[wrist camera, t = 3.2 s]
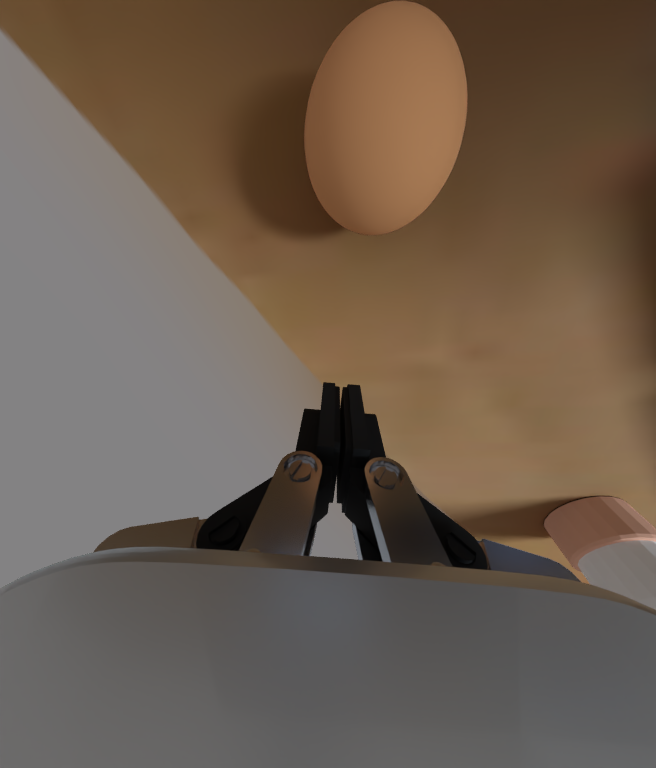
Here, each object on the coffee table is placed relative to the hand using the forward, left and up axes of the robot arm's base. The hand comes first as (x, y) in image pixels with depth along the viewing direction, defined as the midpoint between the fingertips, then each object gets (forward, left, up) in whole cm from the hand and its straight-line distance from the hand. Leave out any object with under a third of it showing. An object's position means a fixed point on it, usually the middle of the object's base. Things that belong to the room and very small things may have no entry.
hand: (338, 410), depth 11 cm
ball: (-1, -10, -3) cm, 10 cm away
